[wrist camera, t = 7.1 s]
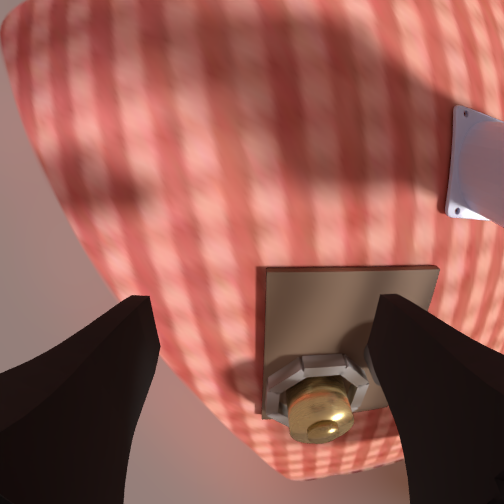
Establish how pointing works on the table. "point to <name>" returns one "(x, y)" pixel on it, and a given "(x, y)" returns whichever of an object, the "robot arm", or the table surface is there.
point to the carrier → (330, 328)
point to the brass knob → (318, 409)
